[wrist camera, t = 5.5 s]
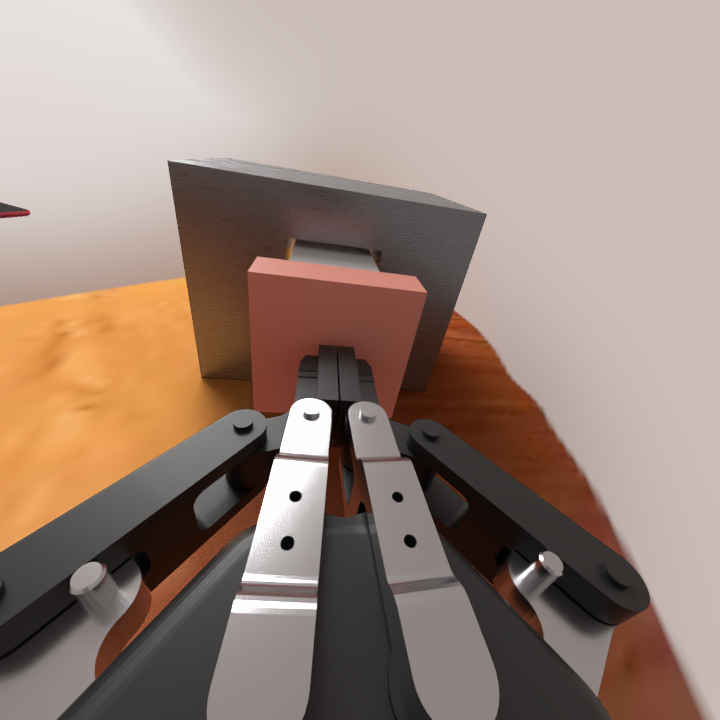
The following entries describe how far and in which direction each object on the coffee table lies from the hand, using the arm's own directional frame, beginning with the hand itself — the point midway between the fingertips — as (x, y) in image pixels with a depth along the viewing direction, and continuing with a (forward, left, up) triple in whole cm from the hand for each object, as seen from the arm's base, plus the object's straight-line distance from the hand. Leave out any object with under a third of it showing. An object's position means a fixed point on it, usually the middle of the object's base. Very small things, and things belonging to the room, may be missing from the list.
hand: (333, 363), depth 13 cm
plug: (0, +8, -4) cm, 8 cm away
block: (0, +15, -8) cm, 17 cm away
